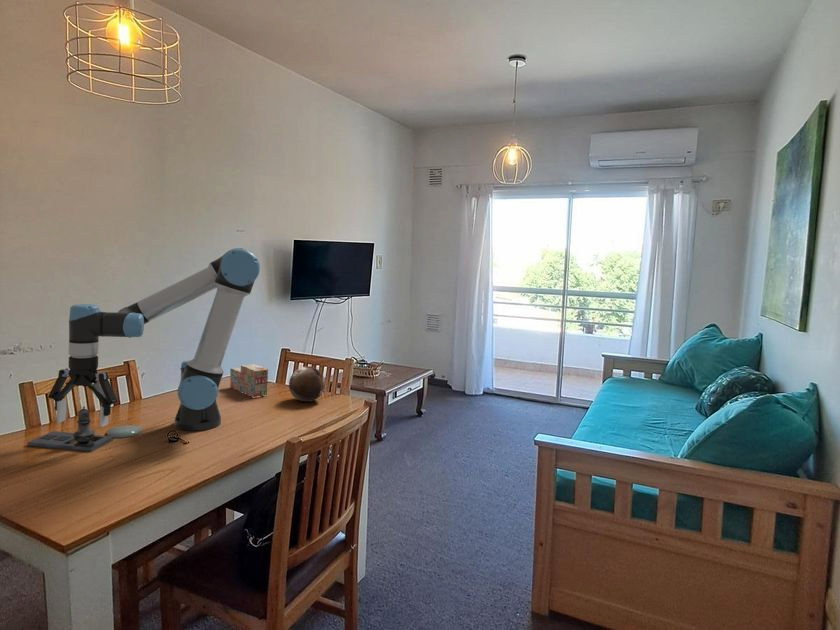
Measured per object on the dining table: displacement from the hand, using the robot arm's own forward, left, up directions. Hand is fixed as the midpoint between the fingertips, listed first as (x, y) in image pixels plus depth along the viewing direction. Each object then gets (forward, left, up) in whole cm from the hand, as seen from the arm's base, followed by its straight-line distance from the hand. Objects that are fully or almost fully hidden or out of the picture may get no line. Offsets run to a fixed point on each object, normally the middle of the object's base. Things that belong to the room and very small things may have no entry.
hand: (82, 423), depth 157 cm
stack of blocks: (-23, -72, -7) cm, 76 cm away
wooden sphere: (-51, -65, -7) cm, 83 cm away
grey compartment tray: (+4, 0, -7) cm, 7 cm away
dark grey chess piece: (0, 0, -7) cm, 7 cm away
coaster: (-5, -12, -7) cm, 15 cm away
